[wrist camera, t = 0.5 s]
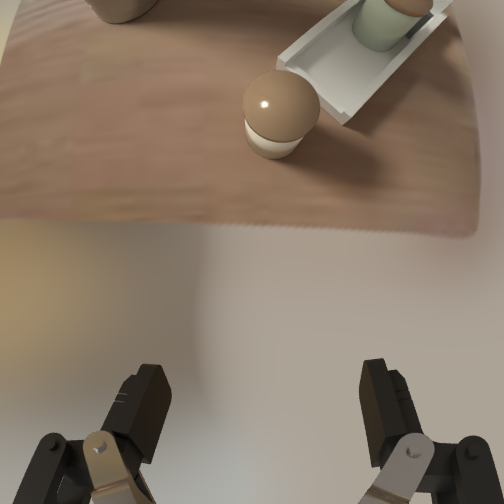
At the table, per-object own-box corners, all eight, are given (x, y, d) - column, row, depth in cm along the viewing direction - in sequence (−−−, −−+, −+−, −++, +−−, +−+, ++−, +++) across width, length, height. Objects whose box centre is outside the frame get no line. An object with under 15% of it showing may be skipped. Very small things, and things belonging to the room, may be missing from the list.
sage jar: (341, 20, 28) (367, -28, 18) (378, 11, 28) (408, -32, 18) (368, 58, 29) (404, 16, 19) (404, 47, 29) (443, 9, 19)
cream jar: (235, 122, 31) (229, 89, 21) (283, 99, 31) (295, 59, 21) (261, 169, 32) (266, 153, 22) (310, 145, 32) (333, 120, 22)
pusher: (409, 39, 28) (431, 18, 22) (365, 3, 28) (381, -23, 22) (425, 24, 28) (446, 3, 22) (383, -11, 27) (400, -35, 21)
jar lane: (342, 125, 31) (364, 106, 24) (275, 69, 30) (281, 38, 23) (437, 24, 29) (462, 2, 22) (385, -20, 28) (402, -47, 21)
